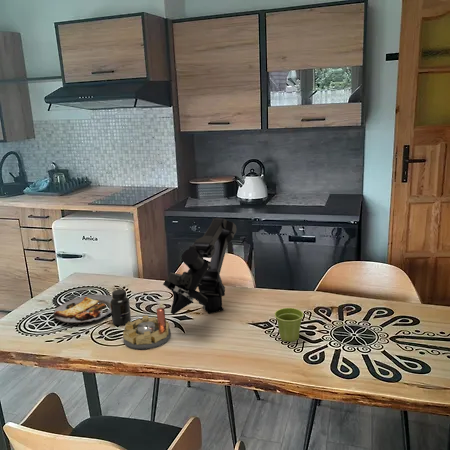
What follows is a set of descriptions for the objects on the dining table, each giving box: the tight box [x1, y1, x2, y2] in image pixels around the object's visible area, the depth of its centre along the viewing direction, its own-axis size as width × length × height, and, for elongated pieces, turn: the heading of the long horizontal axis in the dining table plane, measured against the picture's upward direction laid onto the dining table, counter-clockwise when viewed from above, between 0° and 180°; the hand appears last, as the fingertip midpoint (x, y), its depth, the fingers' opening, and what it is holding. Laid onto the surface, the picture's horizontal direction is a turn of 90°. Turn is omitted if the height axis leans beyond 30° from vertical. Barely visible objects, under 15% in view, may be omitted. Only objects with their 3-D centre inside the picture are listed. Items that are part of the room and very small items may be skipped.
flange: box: [122, 322, 172, 351], centre depth 155 cm, size 16×16×5 cm
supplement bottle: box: [110, 289, 132, 327], centre depth 166 cm, size 7×7×12 cm
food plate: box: [52, 294, 113, 324], centre depth 177 cm, size 25×23×4 cm
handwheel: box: [122, 307, 170, 345], centre depth 154 cm, size 15×15×10 cm
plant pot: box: [274, 307, 304, 343], centre depth 150 cm, size 9×9×9 cm
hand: (172, 313), depth 154 cm, fingers closed
